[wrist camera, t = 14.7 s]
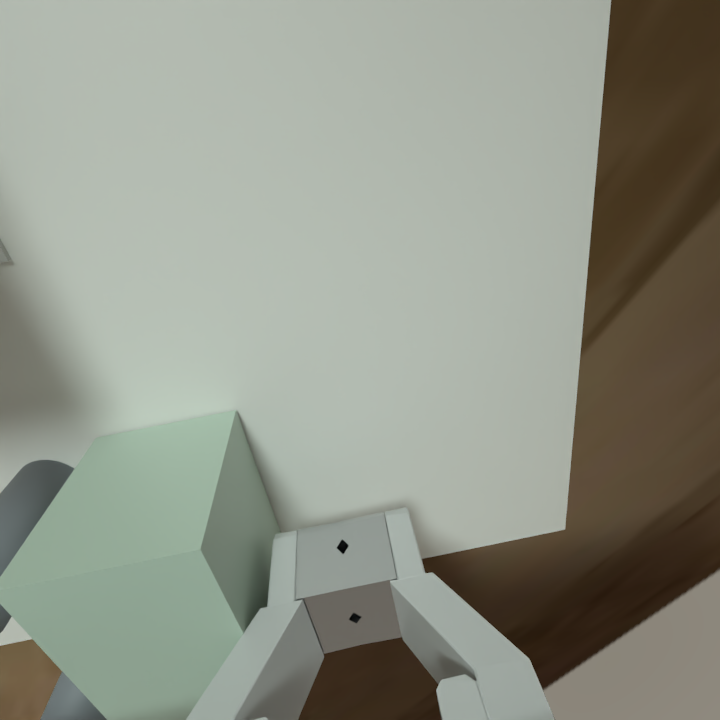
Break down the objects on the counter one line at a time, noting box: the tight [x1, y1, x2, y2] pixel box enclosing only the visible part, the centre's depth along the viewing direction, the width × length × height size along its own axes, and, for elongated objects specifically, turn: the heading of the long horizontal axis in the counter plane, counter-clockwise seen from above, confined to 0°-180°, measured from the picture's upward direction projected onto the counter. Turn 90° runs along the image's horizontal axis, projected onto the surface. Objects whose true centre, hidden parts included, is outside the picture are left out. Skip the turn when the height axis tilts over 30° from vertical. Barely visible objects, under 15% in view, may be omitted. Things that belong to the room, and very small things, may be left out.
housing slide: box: [0, 410, 299, 720], centre depth 9 cm, size 6×3×4 cm, turn 9°
